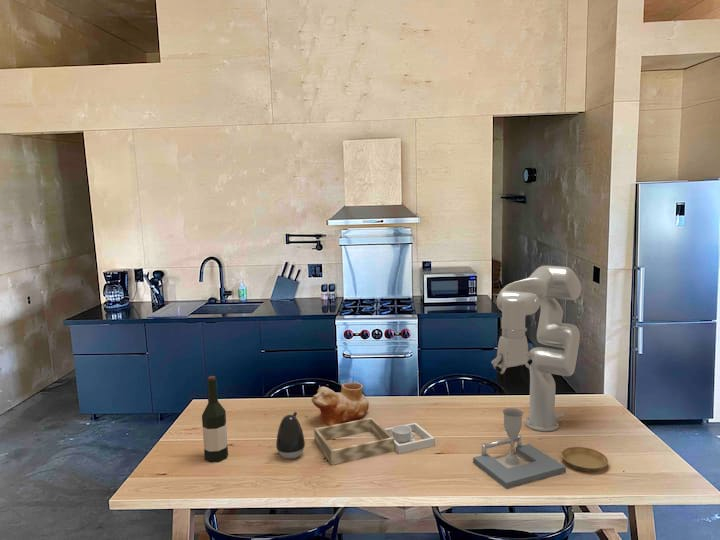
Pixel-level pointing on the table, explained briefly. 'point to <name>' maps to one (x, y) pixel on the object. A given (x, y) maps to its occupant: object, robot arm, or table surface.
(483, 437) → the table surface
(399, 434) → the teacup
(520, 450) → the grey rectangular frame
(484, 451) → the metal bar handle
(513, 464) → the chalice
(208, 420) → the wine bottle
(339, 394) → the ceramic vessel
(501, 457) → the felt pad
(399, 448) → the square frame
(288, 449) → the dark grey pear figure
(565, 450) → the plant saucer
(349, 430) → the beige brown patterned tray
